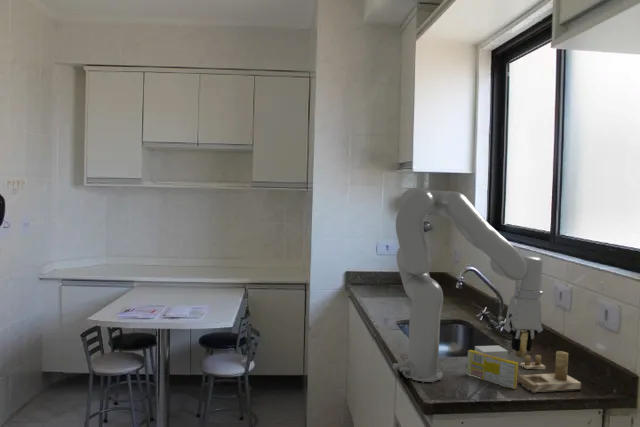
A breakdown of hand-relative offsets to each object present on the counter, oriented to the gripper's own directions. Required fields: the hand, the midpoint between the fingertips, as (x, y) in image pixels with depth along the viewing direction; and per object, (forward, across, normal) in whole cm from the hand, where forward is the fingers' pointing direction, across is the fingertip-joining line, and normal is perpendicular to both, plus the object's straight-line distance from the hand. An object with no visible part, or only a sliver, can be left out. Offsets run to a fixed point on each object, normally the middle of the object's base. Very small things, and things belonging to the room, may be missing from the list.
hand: (521, 349), depth 164 cm
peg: (+2, 0, 0) cm, 2 cm away
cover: (+9, +4, -10) cm, 14 cm away
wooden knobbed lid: (+8, -10, -7) cm, 14 cm away
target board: (+9, -5, +9) cm, 13 cm away
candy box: (+10, +11, +3) cm, 15 cm away
